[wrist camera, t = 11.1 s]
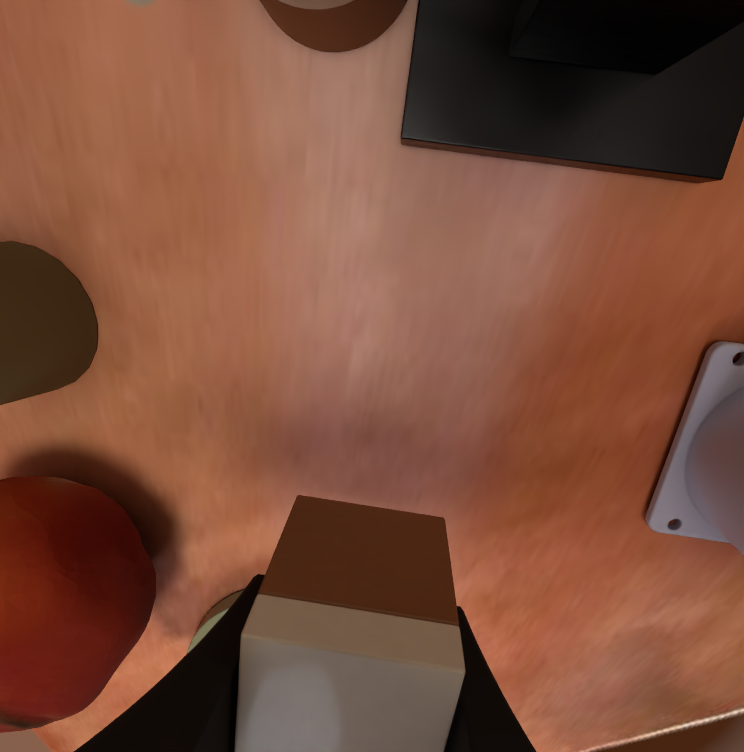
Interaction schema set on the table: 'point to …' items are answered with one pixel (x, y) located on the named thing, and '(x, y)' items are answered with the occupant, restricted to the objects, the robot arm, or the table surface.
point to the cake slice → (352, 635)
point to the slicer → (581, 83)
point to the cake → (333, 21)
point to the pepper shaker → (41, 324)
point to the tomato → (65, 597)
